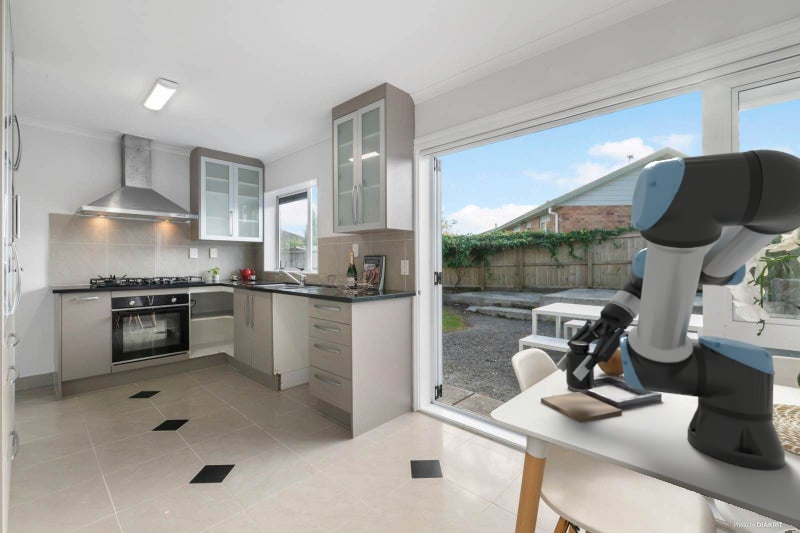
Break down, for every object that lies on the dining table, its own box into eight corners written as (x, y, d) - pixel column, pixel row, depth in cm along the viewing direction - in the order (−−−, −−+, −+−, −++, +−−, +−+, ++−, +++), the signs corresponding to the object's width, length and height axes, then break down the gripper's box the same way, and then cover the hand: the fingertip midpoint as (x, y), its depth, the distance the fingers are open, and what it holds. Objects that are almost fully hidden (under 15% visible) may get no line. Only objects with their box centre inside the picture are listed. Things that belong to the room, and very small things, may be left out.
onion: (634, 380, 120) (634, 350, 120) (601, 378, 122) (602, 349, 122) (623, 371, 129) (623, 344, 129) (593, 369, 131) (593, 342, 131)
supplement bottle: (597, 385, 99) (597, 342, 99) (589, 392, 94) (589, 347, 94) (570, 379, 104) (571, 338, 103) (562, 386, 99) (562, 342, 98)
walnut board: (621, 414, 94) (621, 410, 94) (580, 422, 90) (580, 418, 90) (578, 395, 107) (578, 391, 107) (540, 401, 103) (540, 398, 103)
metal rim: (661, 400, 103) (661, 393, 103) (617, 409, 97) (617, 402, 97) (608, 381, 119) (608, 375, 119) (567, 388, 113) (567, 381, 113)
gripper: (659, 326, 91) (602, 395, 89) (603, 314, 111) (555, 370, 108) (642, 306, 90) (583, 375, 88) (588, 298, 110) (539, 354, 107)
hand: (568, 372), depth 98 cm, fingers closed on supplement bottle, 7 cm apart
